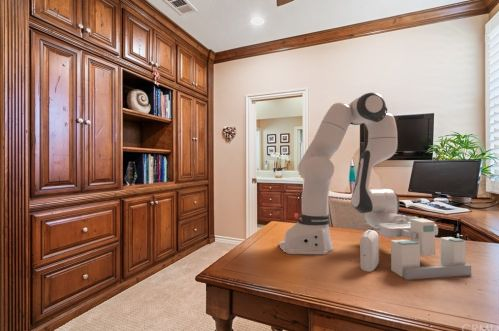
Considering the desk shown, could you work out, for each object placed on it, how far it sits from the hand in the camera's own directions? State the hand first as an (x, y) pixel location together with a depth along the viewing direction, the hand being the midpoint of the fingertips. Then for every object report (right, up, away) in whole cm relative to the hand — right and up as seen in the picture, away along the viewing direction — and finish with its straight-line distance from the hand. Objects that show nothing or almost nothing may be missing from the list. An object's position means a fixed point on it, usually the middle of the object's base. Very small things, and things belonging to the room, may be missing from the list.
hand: (424, 235), depth 83 cm
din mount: (-1, -11, -4) cm, 11 cm away
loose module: (0, -6, +1) cm, 6 cm away
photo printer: (-17, -11, +2) cm, 21 cm away
